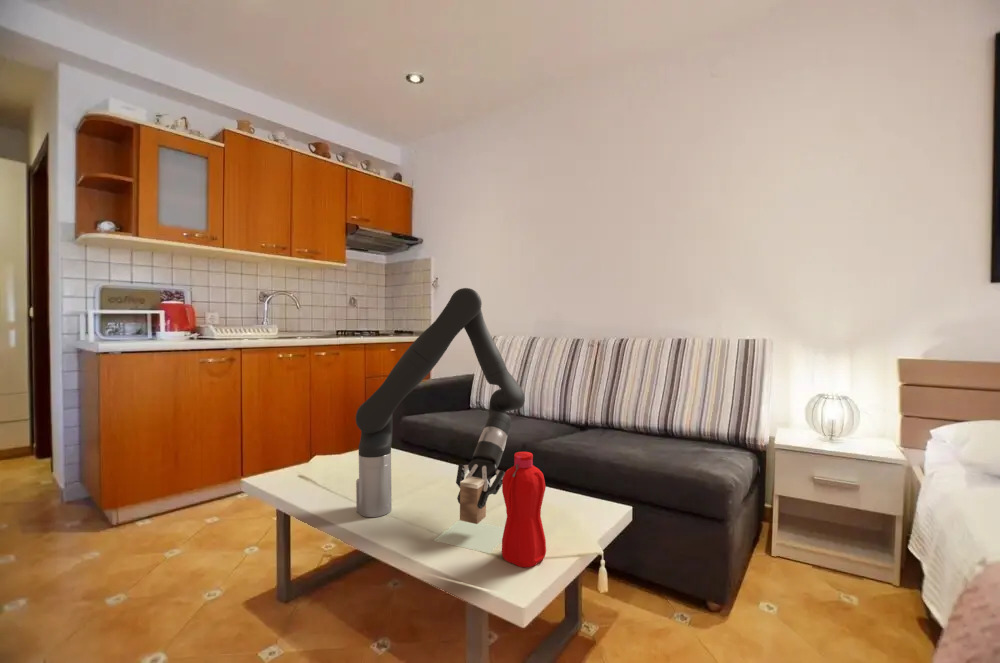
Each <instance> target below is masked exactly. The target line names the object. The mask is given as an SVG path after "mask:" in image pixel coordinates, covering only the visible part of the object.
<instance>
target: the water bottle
mask: <svg viewBox="0 0 1000 663" xmlns="http://www.w3.org/2000/svg"><path fill="white" fill-rule="evenodd" d="M513 458H514V459H513V460H514V464H513V466H511V467H510V468H508V469H507V470H506V471H504V473H505V474H504V476H503V478H502V485H501V489H502V490H501V493H502V495H503V500H504V505H505V511H506V520H505V523H504V527H505V528H504V533H503V538H502V542H501V554H502V558H503V560H504V561H506V562H507V563H510V564H513V565H515V566H517V567H520V568H531V567H534V566H536V565H537V564H538V563H539V562H541V561H544V559H545V557H546V554H547V543H546V542H547V540H546V535H545V531H544V526H543V525H544V524H543V522H542V517H541V514H542V505H543V502H544V501H543V500H544V498H545V497H544V496H545V493H546V487H547V486H546V480H545V477H544V473H543V472H542V471H541V470H540V468H538V467H536V466H535V465H534V462H533V461H534V460H533V459H534V455H533V453H532V452H529V451H518V452H515V453H514V456H513Z"/></svg>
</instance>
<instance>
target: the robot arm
mask: <svg viewBox="0 0 1000 663" xmlns="http://www.w3.org/2000/svg"><path fill="white" fill-rule="evenodd" d="M482 302H483V301H482V298H481V296H480V295H479V293H478V292H477V291H476V290H474V289H472V288H468V287H463V288H462V287H461V288H459V289H457V290H456V291H454V292H453V293H452V295H451V297H450V299H449V301H448V303H447V304H446V305H445V307H444V308H443V310H442V311H441V312H440V314H439V315H438V317H437V318H436V319H435V321H434V322H433V323H432V324H431V325H429V327H427V328H426V329H425V330H424V331H423V332H422V333H421V334H420V335H419V336H418V337H417V338H416V339H415V340H414V341H413V342H411V345H410V346H409V347H408V348H407V350H405V352H404V353H403V354H402V356H400V359H399V360H398V361H397V362H396V364H395V365H394V366H393V368H392V369H391V371H390V372H389V374H388V375H387V377H386V378H385V380H384V381H383V382H382V384H381V385H380V386H379V387H378V389H377V390H375V391H374V393H373V394H372V395H370V396H369V397H368V398H367V400H365V401H364V402H362V403H361V404H360V406H359V407H358V408H357V411H356V412H355V424H356V425H357V426H356V427H357V428H358V429H359V431H361V433H360V440H359V443H358V478H357V479H356V481H355V482H356V483H355V484H356V485H355V487H356V488H355V491H356V494H355V496H356V513H359V515H361V516H362V517H367V518H377V517H382V516H385V515H387V514H389V513H391V512H392V509H393V508H392V500H393V499H392V494H393V493H392V443H393V413H394V412H395V410H396V409H397V408H398V406H399V405H400V403H402V401H403V400H404V399H405V398H406V397H407V396H408V395H409V394H410V393H411V392H412V391H413V390H414V389H415V388H417V386H419V384H421V383H422V382H423V380H424V379H425V378H426V377H428V375H429V374H430V373H431V371H432V370H433V369H434V367H435V366H436V365H437V364H438V363H439V361H440V360H441V358H442V357H443V355H445V353H446V351H447V350H448V349H449V347H450V346H451V343H452V342H453V340H454V339H455V338H456V337H457V335H458V334H459V333H460V332H461V331H462V330H463V329H464V330H465V332H466V334H467V335H468V338H469V340H470V342H471V343H470V344H471V346H472V348H473V352H474V354H475V357H476V359H477V362H478V364H479V366H480V369H481V371H482V373H483V375H484V377H485V380H486V382H487V383H488V384H489V385H494V386H495V385H496V386H498V387H499V388H500V389H497V390H495V391H494V392H493V393H492V395H491V396H490V399H489V406H488V407H489V408H488V418H487V420H486V423H485V426H484V428H483V430H482V432H481V434H480V436H479V439H478V442H477V443H476V444H477V445H476V447H475V449H474V452H473V455H472V459H471V460H470V462H469V463H468V464H465V465H464V464H463V463H459V464H458V467H457V474H456V480H455V483H456V486H457V487H458V488H459V489H460V482H461V481H462V480H464V479H465V478H467V477H472V476H473V477H478V478H482V480H485V481H484V486H483V492H481V495H480V498H479V501H478V504H477V506H478V507H479V508H480V509H482V508H483V507H484V506H485V504H486V505H487V501H488V498H489V496H490V495H497V494H498V493H499V490H500V489H501V488H502V478H503V476H504V474H505V471H504V470H500V469H498V467H499V465H500V463H501V460H502V457H503V455H504V454H503V453H504V451H505V448H506V445H507V444H506V443H507V440H508V436H509V433H510V431H511V427H512V417H511V416H510V415H508V414H507V413H506V412H512V411H517V410H520V409H522V408H523V406H524V405H525V401H526V400H525V398H526V397H525V393H524V391H523V389H522V387H521V386H520V384H519V383H518V382H517V380H516V379H515V378H514V376H513V375H512V374H511V373H510V371H509V370H508V369H507V366H506V363H505V362H504V359H503V356H502V355H501V353H500V351H499V349H498V346H497V345H496V343H495V341H494V339H493V338H492V334H490V332H489V329H488V327H487V325H486V322H485V319H484V316H483V312H482ZM468 471H469V472H468ZM467 472H468V473H467ZM466 474H467V475H466ZM494 477H495V479H494V480H493V482H492V481H491V480H492V478H494ZM491 482H492V483H491ZM456 499H457V502H458V504H459V505H460V491H459V492H458V494H457V497H456Z"/></svg>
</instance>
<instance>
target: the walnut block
mask: <svg viewBox="0 0 1000 663" xmlns="http://www.w3.org/2000/svg"><path fill="white" fill-rule="evenodd" d="M484 481H485V480H482V478H478V477H473V476H472V477H467V478H466V477H464V480H462V481H461V482H460V488H459V492H460V504H459V520H460V521H465V522H469V523H474V524H478V523H479V522H480V523H481V522H482V521H483V520H484V519H485V518H486V517H487V503H486V504H485V506H484V507H483V508H482V509H480V508H479V507H478V506H477V504H478V501H479V498H480V495H481V492H483V486H484Z"/></svg>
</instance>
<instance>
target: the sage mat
mask: <svg viewBox="0 0 1000 663" xmlns="http://www.w3.org/2000/svg"><path fill="white" fill-rule="evenodd" d="M504 528H505V526H504V527H503V526H499V525H494V524H490V523H483V522H481V521H480V522H479V523H478V524H474V523H469V522H465V521H460V519H459V520H457V521H455V523H453V524H452V525H451V526H450V527H448V528H447V529H446V530H445V531H444V532H442V533H440V534H439V535H438V536H437V537H436V538H435V539H433V542H436V543H437V542H438V543H441V544H447V545H452V546H453V547H454V546H455V547H459V548H464V549H469V550H473V551H477V552H482V553H485V554H490V555H491V554H492V553H493V551H494V550H495V549H496V548H497V547H498V546H499V545H500V544H502V538H503V533H504ZM493 548H494V550H493Z"/></svg>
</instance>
